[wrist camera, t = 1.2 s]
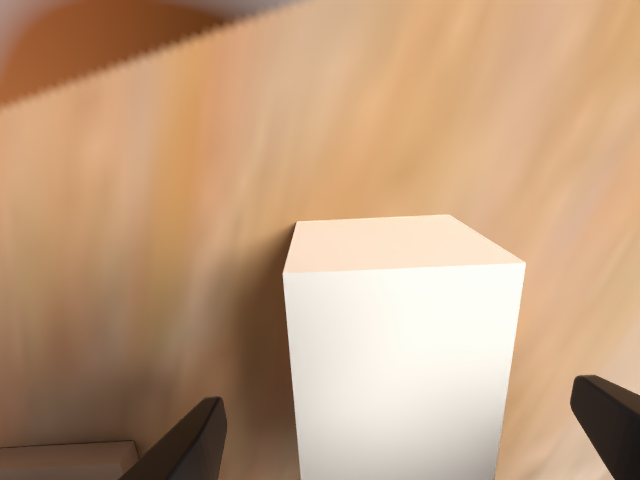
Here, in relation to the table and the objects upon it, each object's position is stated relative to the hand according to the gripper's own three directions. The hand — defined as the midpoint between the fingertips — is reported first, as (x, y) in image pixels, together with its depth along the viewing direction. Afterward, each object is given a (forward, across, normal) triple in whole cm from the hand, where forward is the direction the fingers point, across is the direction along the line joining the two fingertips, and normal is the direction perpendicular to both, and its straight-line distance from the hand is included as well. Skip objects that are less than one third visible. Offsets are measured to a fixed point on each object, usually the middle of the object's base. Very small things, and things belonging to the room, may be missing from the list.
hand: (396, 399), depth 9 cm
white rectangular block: (+4, 0, 0) cm, 4 cm away
